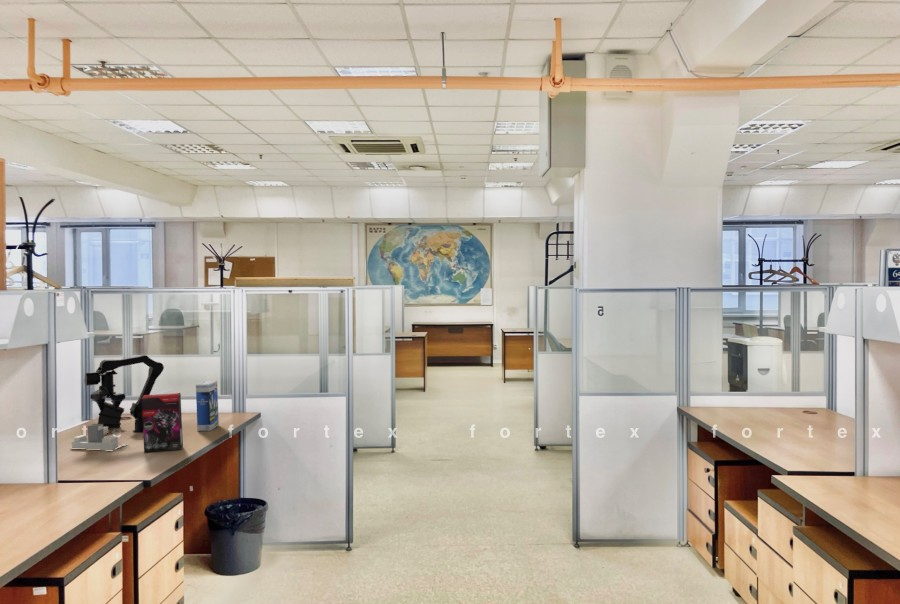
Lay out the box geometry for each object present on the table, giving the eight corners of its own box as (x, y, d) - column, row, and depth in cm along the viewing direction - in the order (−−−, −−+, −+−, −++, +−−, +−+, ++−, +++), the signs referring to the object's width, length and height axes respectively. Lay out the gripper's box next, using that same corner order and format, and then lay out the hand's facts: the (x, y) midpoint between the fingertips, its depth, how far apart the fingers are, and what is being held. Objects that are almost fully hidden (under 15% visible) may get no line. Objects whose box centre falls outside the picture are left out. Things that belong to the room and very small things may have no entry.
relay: (108, 433, 336) (108, 426, 335) (103, 436, 331) (102, 428, 331) (98, 433, 336) (97, 426, 336) (92, 435, 332) (92, 428, 332)
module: (94, 445, 311) (93, 423, 311) (104, 445, 310) (103, 424, 309) (88, 447, 307) (87, 425, 307) (97, 447, 306) (97, 425, 306)
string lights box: (210, 431, 338) (208, 384, 336) (196, 431, 337) (194, 384, 336) (219, 425, 351) (217, 380, 350) (205, 425, 351) (204, 380, 350)
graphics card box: (142, 453, 296) (140, 397, 295) (145, 449, 303) (143, 394, 301) (181, 450, 300) (179, 395, 299) (183, 446, 307) (181, 392, 306)
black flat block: (92, 426, 346) (104, 401, 348) (116, 434, 350) (128, 409, 351) (91, 427, 343) (103, 402, 344) (115, 435, 346) (127, 411, 348)
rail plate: (89, 442, 317) (88, 432, 316) (128, 445, 311) (128, 434, 311) (69, 449, 305) (69, 438, 305) (110, 451, 300) (110, 440, 299)
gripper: (80, 385, 324) (82, 414, 324) (107, 386, 318) (109, 416, 318) (99, 381, 334) (100, 410, 335) (125, 383, 328) (126, 412, 329)
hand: (108, 412), depth 329 cm, fingers open, 9 cm apart
